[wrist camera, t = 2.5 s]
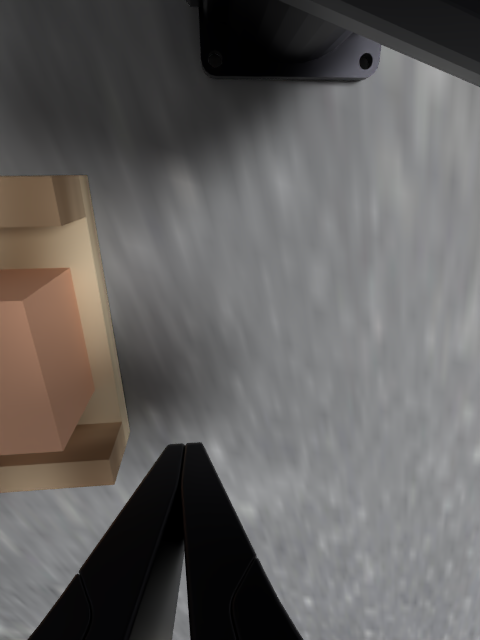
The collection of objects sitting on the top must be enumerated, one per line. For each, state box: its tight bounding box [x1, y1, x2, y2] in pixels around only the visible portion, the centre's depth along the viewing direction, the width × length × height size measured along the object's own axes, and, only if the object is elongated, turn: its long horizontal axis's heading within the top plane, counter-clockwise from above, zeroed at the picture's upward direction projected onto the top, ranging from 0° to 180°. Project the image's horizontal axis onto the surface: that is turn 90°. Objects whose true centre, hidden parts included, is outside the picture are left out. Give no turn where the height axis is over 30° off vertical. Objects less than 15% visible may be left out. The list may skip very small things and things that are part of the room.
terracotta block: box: [0, 268, 95, 455], centre depth 14 cm, size 5×6×4 cm
